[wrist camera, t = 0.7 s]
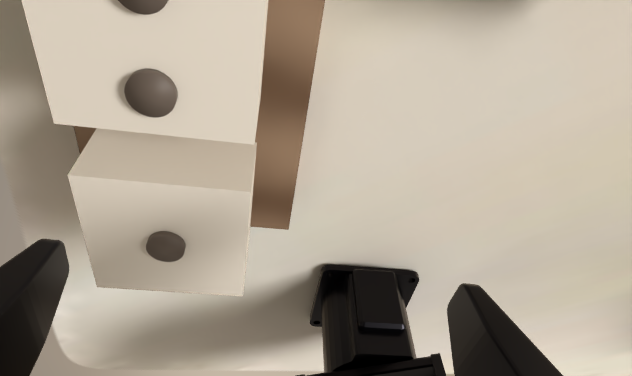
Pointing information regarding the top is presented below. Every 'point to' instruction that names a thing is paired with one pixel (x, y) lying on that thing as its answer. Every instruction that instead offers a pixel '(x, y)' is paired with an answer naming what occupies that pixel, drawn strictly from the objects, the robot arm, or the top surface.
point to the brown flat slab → (277, 107)
